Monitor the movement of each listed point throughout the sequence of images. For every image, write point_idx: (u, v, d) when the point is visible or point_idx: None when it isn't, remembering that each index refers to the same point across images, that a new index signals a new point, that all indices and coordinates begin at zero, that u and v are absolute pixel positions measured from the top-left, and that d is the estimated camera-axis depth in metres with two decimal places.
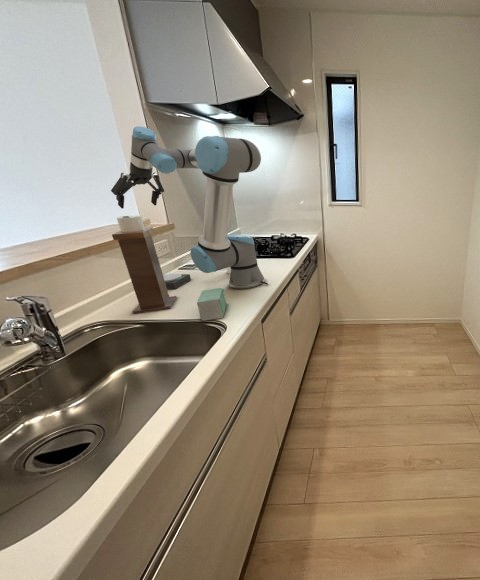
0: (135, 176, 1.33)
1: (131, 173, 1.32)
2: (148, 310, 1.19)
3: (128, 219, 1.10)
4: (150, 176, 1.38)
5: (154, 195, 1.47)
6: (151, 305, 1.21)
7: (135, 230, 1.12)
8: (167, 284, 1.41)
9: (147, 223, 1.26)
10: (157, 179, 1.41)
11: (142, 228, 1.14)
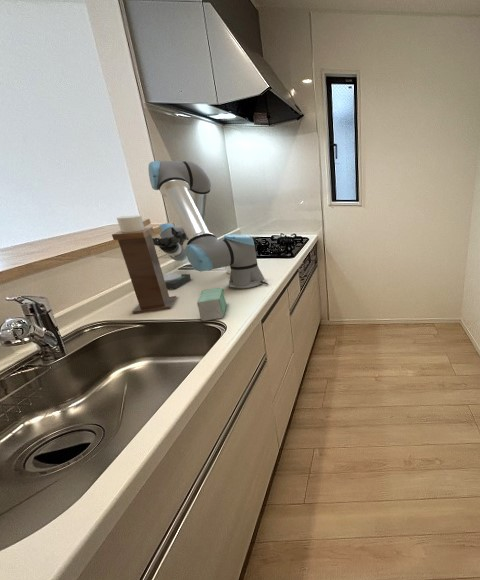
0: None
1: None
2: (148, 310, 1.19)
3: (128, 219, 1.10)
4: None
5: None
6: (151, 305, 1.21)
7: (135, 230, 1.12)
8: (167, 284, 1.41)
9: (147, 223, 1.26)
10: None
11: (142, 228, 1.14)
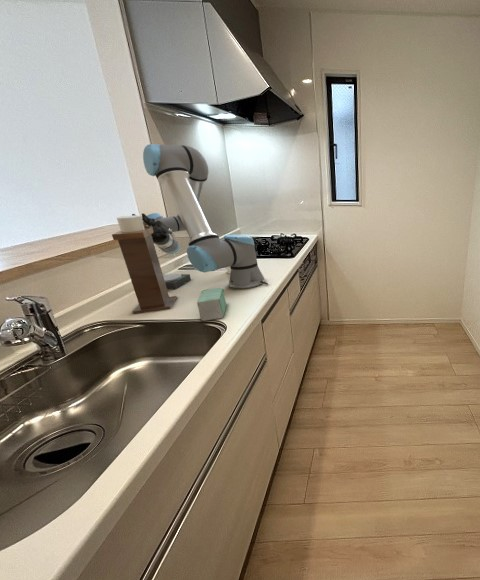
0: None
1: None
2: (148, 310, 1.19)
3: (128, 219, 1.10)
4: None
5: None
6: (151, 305, 1.21)
7: (135, 230, 1.12)
8: (167, 284, 1.41)
9: None
10: None
11: (142, 228, 1.14)
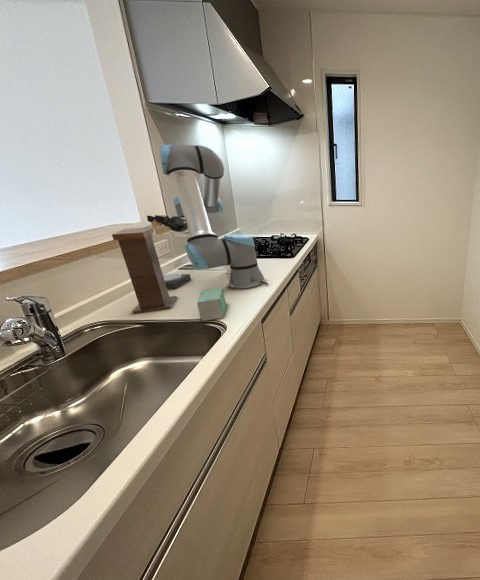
0: None
1: None
2: (148, 310, 1.19)
3: None
4: None
5: None
6: (151, 305, 1.21)
7: None
8: (167, 284, 1.41)
9: None
10: None
11: (153, 235, 1.28)
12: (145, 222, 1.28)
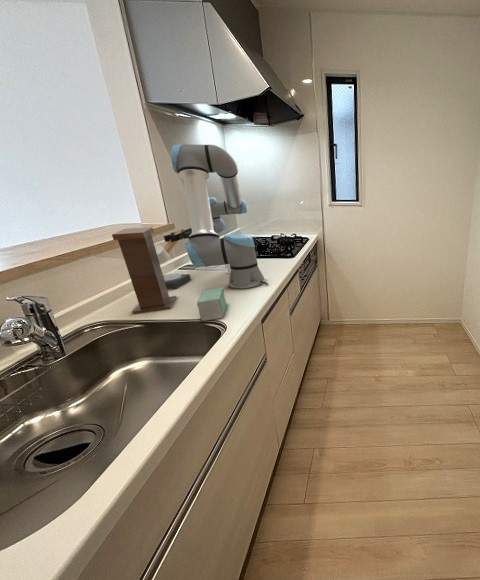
0: None
1: None
2: (148, 310, 1.19)
3: None
4: None
5: None
6: (151, 305, 1.21)
7: (160, 263, 1.41)
8: (167, 284, 1.41)
9: None
10: None
11: (166, 259, 1.41)
12: (159, 247, 1.40)
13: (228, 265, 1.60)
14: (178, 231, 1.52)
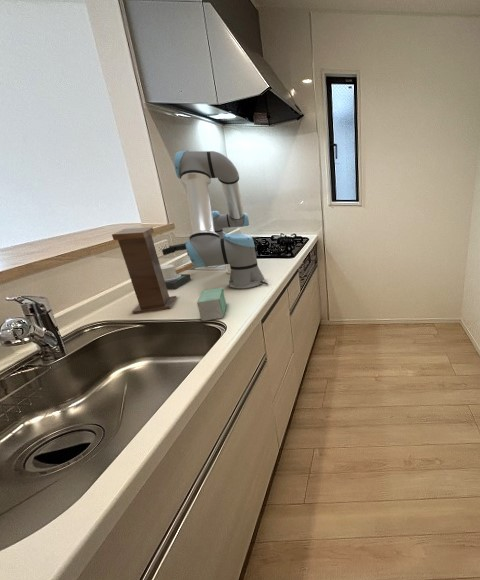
0: None
1: None
2: (148, 310, 1.19)
3: None
4: None
5: None
6: (151, 305, 1.21)
7: (165, 278, 1.44)
8: (167, 284, 1.41)
9: (190, 267, 1.59)
10: None
11: (172, 276, 1.45)
12: (170, 265, 1.47)
13: (228, 265, 1.60)
14: None
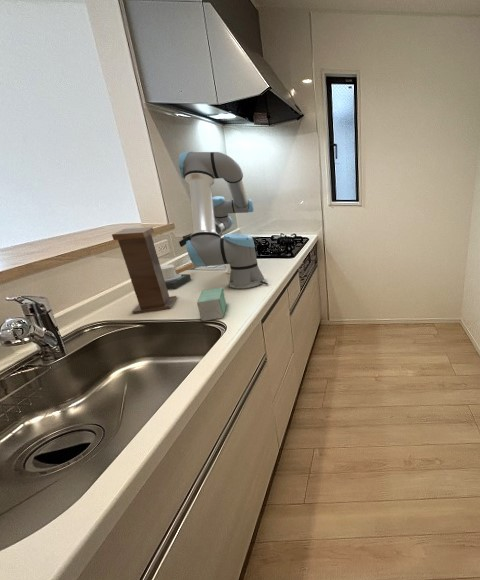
0: None
1: None
2: (148, 310, 1.19)
3: None
4: None
5: None
6: (151, 305, 1.21)
7: (165, 278, 1.44)
8: (167, 284, 1.41)
9: (190, 267, 1.59)
10: (218, 231, 1.71)
11: (172, 276, 1.45)
12: (170, 265, 1.47)
13: (228, 265, 1.60)
14: None
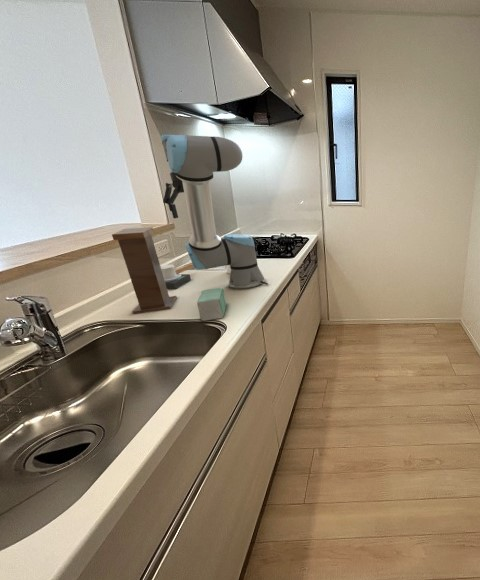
0: (174, 183, 1.46)
1: None
2: (148, 310, 1.19)
3: None
4: None
5: None
6: (151, 305, 1.21)
7: (165, 278, 1.44)
8: (167, 284, 1.41)
9: (190, 267, 1.59)
10: None
11: (172, 276, 1.45)
12: (170, 265, 1.47)
13: (228, 265, 1.60)
14: None
